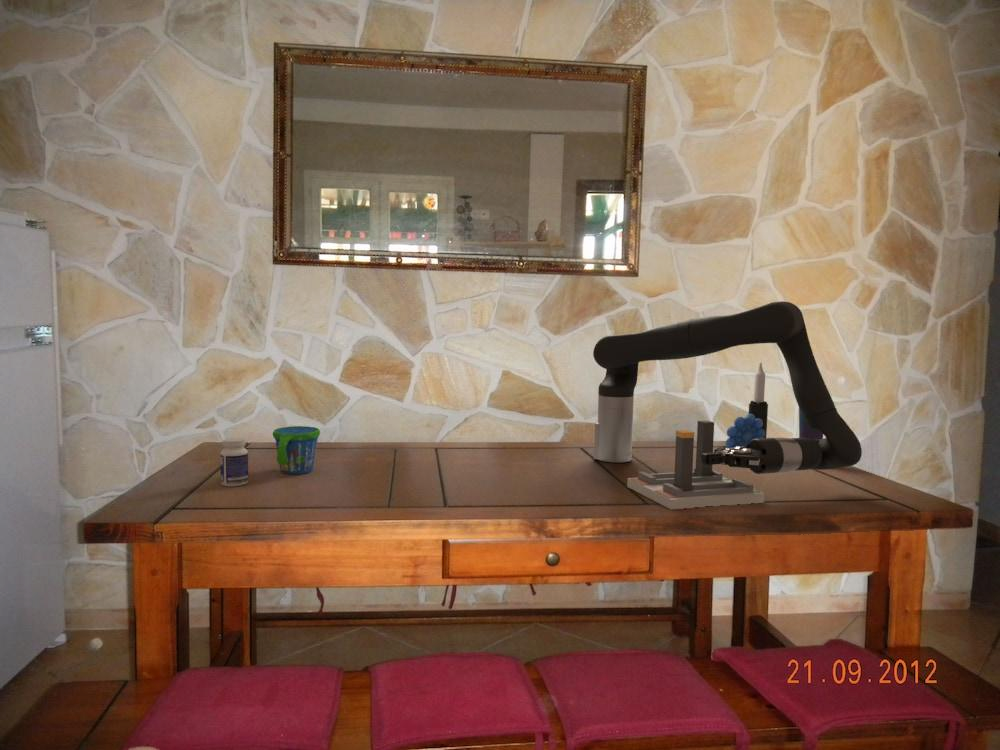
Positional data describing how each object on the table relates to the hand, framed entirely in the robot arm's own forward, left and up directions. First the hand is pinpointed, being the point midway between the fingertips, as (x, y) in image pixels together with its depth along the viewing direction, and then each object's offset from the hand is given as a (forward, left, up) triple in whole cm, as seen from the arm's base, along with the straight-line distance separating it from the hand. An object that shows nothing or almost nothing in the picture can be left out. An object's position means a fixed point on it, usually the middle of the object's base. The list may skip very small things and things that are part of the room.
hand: (703, 459), depth 151 cm
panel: (-3, +5, -9) cm, 11 cm away
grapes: (-1, +55, -9) cm, 56 cm away
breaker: (-3, -3, -7) cm, 8 cm away
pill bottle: (-93, -40, -9) cm, 102 cm away
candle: (0, +73, -9) cm, 74 cm away
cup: (+16, +57, -9) cm, 60 cm away
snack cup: (-90, -24, -9) cm, 94 cm away
